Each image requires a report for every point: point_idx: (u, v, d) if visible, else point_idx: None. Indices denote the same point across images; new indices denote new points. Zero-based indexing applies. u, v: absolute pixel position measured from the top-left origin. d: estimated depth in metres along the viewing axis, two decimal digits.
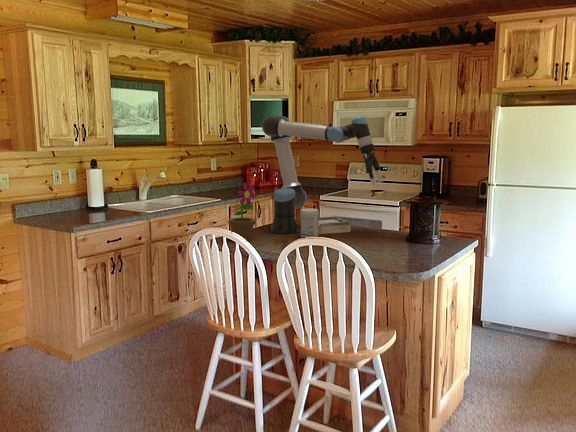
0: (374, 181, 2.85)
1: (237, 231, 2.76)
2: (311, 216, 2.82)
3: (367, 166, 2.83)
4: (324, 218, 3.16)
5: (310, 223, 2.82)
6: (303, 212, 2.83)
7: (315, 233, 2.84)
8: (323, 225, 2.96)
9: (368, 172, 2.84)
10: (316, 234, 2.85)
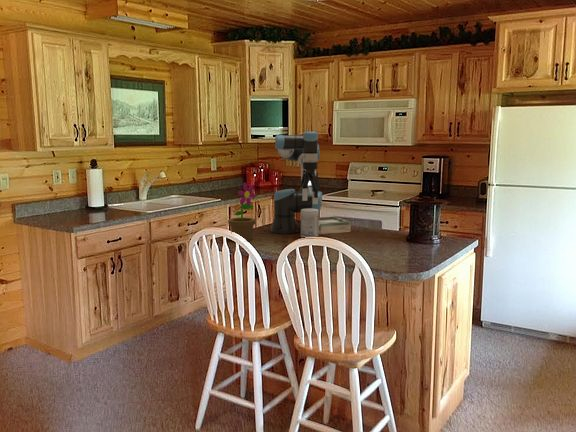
0: None
1: (237, 231, 2.76)
2: (311, 216, 2.82)
3: None
4: (324, 218, 3.16)
5: (310, 223, 2.82)
6: (303, 212, 2.83)
7: (315, 233, 2.84)
8: (323, 225, 2.96)
9: None
10: (316, 234, 2.85)
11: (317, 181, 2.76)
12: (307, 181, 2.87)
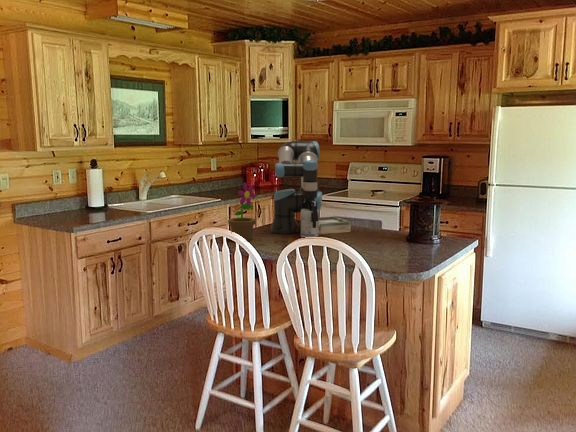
0: None
1: (237, 231, 2.76)
2: None
3: None
4: (324, 218, 3.16)
5: (310, 222, 2.82)
6: (303, 212, 2.83)
7: None
8: (323, 225, 2.96)
9: None
10: (316, 234, 2.85)
11: (316, 212, 2.79)
12: None
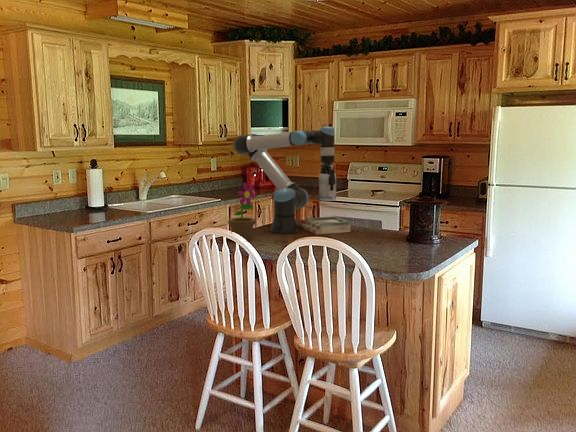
0: None
1: (237, 231, 2.76)
2: (328, 179, 2.96)
3: None
4: (324, 218, 3.16)
5: (327, 186, 2.97)
6: (321, 176, 2.98)
7: None
8: (323, 225, 2.96)
9: None
10: (334, 197, 2.99)
11: (333, 175, 2.94)
12: None
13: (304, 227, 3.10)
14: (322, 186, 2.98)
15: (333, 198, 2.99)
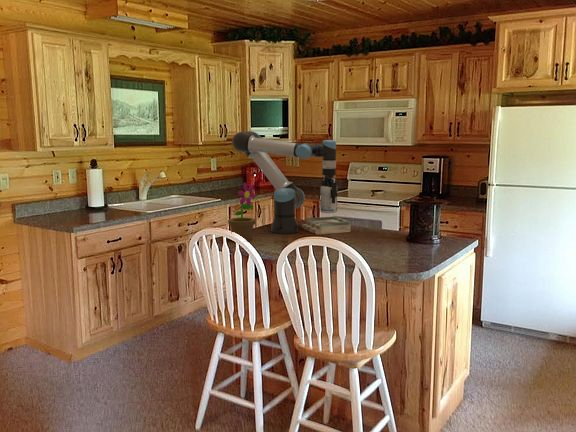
0: None
1: (237, 231, 2.76)
2: (330, 192, 3.00)
3: None
4: (324, 218, 3.16)
5: (329, 198, 3.01)
6: (323, 188, 3.01)
7: None
8: (323, 225, 2.96)
9: None
10: (335, 209, 3.03)
11: (335, 188, 2.98)
12: None
13: (304, 227, 3.10)
14: (324, 199, 3.02)
15: (334, 210, 3.03)
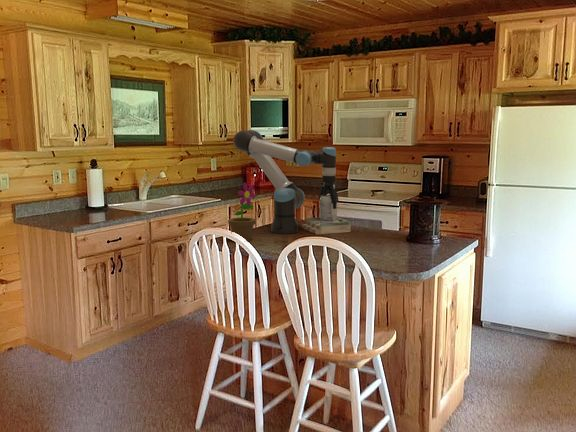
0: None
1: (237, 231, 2.76)
2: (330, 202, 3.01)
3: None
4: None
5: (329, 208, 3.02)
6: (322, 199, 3.02)
7: (334, 218, 3.04)
8: (323, 225, 2.96)
9: None
10: (334, 219, 3.04)
11: (336, 193, 2.97)
12: (326, 193, 3.09)
13: (304, 227, 3.10)
14: (323, 209, 3.03)
15: (334, 221, 3.04)
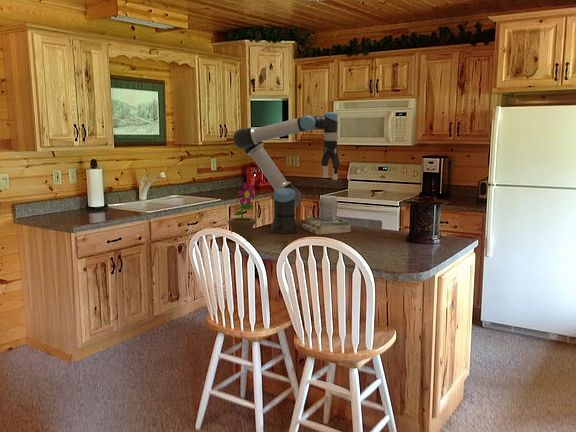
0: None
1: (237, 231, 2.76)
2: (330, 202, 3.01)
3: None
4: None
5: (329, 208, 3.02)
6: (322, 199, 3.02)
7: (334, 218, 3.04)
8: (323, 225, 2.96)
9: None
10: (334, 219, 3.04)
11: (337, 158, 2.97)
12: (327, 159, 3.08)
13: (304, 227, 3.10)
14: (323, 209, 3.03)
15: (334, 221, 3.04)
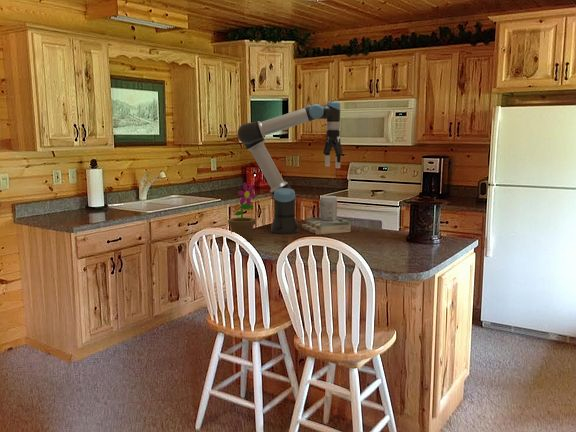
0: None
1: (237, 231, 2.76)
2: (330, 202, 3.01)
3: None
4: None
5: (329, 208, 3.02)
6: (322, 199, 3.02)
7: (334, 218, 3.04)
8: (323, 225, 2.96)
9: None
10: (334, 219, 3.04)
11: (340, 147, 3.01)
12: (330, 148, 3.12)
13: (304, 227, 3.10)
14: (323, 209, 3.03)
15: (334, 221, 3.04)
